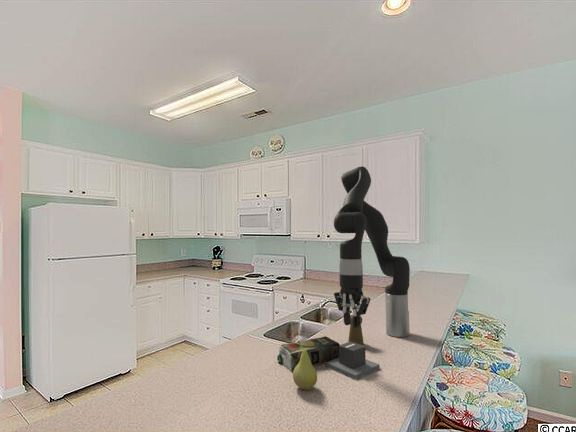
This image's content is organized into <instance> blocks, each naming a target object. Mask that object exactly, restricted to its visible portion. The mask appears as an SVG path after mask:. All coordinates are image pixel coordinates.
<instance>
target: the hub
mask: <svg viewBox="0 0 576 432" xmlns="http://www.w3.org/2000/svg"><path fill="white" fill-rule="evenodd" d="M325 366H326V367H327V368H330V369H331V370H334V371H336V372H337V373H340V374H343V375H345V376H347V377H349V378H351V379H353V380H358V379H359V378H362V377H364V376H366V375H369V374H371V373H373V372H375V371H377V370H380V364H379V363H376V362H374V361H371V360H368V359H366V364H364V365H362V366H360V367H357V368H355V369H352V368H350V367H348V366H345V365H343V364H341V363H339V358H336V359H334V360H331V361H329V362H326V363H325Z"/></svg>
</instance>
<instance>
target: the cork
mask: <svg viewBox="0 0 576 432" xmlns="http://www.w3.org/2000/svg"><path fill="white" fill-rule="evenodd" d="M353 316H354V314H350V325H349V334H348V341H347V343H348V342H350V341H351V342H354V343H357V344H360V345H363V346H365V344H364V343H365V342H364V336H363V329H362V323H363V318H362V315H361V316H360V326H359V327H358V328H354V327H353Z"/></svg>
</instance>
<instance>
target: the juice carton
mask: <svg viewBox="0 0 576 432" xmlns="http://www.w3.org/2000/svg"><path fill="white" fill-rule="evenodd" d="M299 342H300V343H301V345H302V347H303V348H304V349H305V350H306V351H307V353H308V355H309V358H310V361H311V364H312V366H313V367H314V366H316V365H317V366H319V365H322V363H323V364H326V362H329V361H331V360H334V359H336V358H339V345H341V344H340V343H339V342H338V341H336V340H334V339H331V337H328V336H321V337H316V338H310V339H305V340H299ZM278 346H279V348H278V349H279V350H278V355H277V356H276V357H277V361H278V362H280V363H282V365H283V366H285V367H286V368H287V369H288V370H289V371H294V369H295V367H296V366H297V365H298V363H299V362H300V358H301V354H302V348H301V346H300V345H299V343H298V342H297V341H293V342H289V343H284V344H283V343H282V344H279V345H278Z"/></svg>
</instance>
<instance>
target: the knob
mask: <svg viewBox="0 0 576 432" xmlns="http://www.w3.org/2000/svg"><path fill="white" fill-rule="evenodd" d="M366 360H367V359H366V346H365V345H360V344H357V343H354V342H351V341H350V342H348V341H347V342H345V343H342V344H340V345H339V363H341V364H343V365H345V366H348V367H350V368H352V369H355V368H357V367H360V366H362V365H364V364H366Z"/></svg>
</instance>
